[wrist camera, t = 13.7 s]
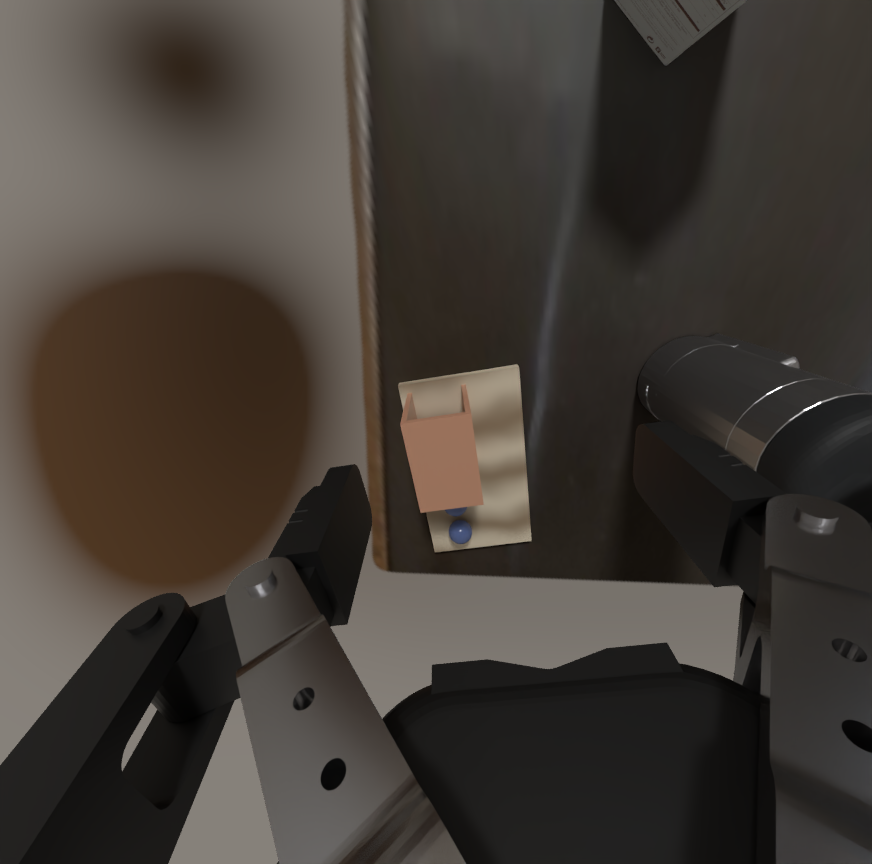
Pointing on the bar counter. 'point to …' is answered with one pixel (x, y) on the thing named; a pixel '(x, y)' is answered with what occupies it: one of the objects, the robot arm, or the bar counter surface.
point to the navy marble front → (456, 511)
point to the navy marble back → (460, 531)
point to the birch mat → (483, 453)
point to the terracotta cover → (442, 458)
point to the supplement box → (675, 22)
